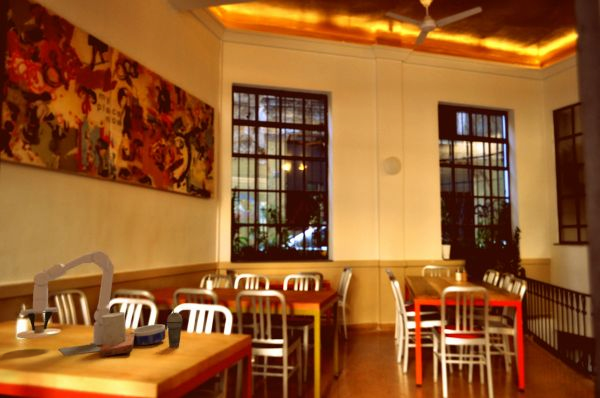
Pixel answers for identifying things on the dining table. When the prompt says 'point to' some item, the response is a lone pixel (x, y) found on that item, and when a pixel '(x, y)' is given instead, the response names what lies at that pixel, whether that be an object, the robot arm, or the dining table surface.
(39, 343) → the dining table surface
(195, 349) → the dining table surface
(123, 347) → the brown wooden board
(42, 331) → the lid
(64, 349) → the mat
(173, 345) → the beverage cup
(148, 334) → the dog bowl
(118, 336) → the grey cylinder
